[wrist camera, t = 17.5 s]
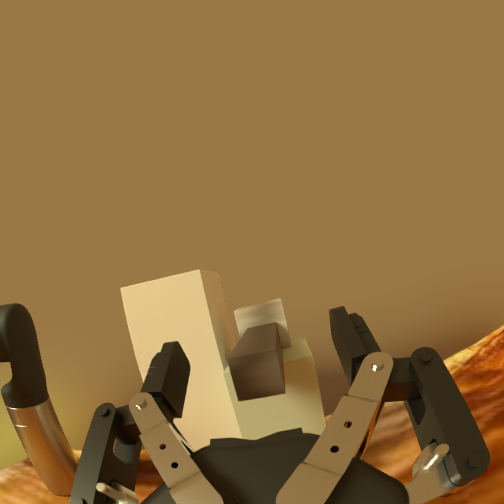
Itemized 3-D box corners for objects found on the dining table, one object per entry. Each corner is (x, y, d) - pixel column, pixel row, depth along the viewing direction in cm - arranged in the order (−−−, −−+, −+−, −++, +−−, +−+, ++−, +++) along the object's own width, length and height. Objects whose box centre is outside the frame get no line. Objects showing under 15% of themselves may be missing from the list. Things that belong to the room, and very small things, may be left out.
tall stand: (195, 503, 24) (120, 288, 28) (209, 470, 33) (153, 287, 37) (265, 501, 24) (199, 269, 28) (268, 466, 32) (218, 272, 37)
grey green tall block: (272, 519, 20) (223, 372, 22) (274, 480, 28) (237, 349, 31) (338, 508, 19) (312, 355, 22) (328, 469, 28) (303, 335, 31)
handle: (223, 403, 15) (203, 330, 16) (249, 346, 32) (240, 307, 33) (301, 389, 15) (284, 313, 16) (289, 337, 32) (280, 298, 32)
